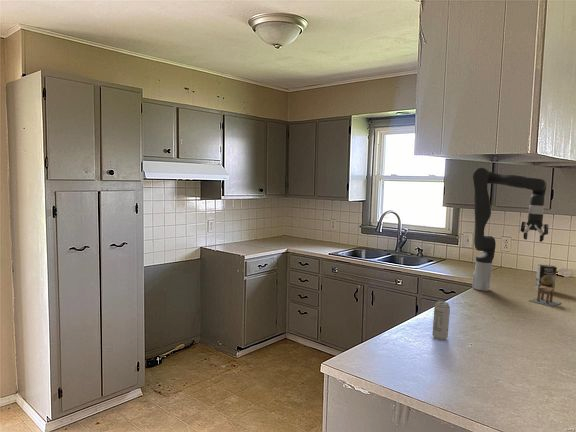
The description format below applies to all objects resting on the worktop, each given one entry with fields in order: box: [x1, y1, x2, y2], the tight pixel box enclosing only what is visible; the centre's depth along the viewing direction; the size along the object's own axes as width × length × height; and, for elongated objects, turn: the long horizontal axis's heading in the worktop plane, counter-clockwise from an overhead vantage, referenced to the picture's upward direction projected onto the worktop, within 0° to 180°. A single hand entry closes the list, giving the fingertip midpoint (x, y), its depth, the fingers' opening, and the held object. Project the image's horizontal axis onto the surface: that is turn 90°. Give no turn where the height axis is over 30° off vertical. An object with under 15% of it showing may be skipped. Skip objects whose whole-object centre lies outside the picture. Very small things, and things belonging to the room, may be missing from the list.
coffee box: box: [534, 263, 558, 294], centre depth 262 cm, size 9×6×16 cm
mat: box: [528, 297, 562, 308], centre depth 236 cm, size 12×12×1 cm
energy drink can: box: [431, 300, 451, 341], centre depth 174 cm, size 6×6×15 cm
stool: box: [536, 286, 555, 304], centre depth 236 cm, size 6×6×8 cm
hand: (533, 240), depth 246 cm, fingers open, 8 cm apart
